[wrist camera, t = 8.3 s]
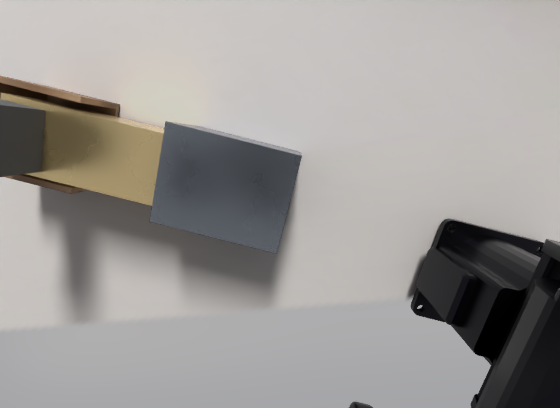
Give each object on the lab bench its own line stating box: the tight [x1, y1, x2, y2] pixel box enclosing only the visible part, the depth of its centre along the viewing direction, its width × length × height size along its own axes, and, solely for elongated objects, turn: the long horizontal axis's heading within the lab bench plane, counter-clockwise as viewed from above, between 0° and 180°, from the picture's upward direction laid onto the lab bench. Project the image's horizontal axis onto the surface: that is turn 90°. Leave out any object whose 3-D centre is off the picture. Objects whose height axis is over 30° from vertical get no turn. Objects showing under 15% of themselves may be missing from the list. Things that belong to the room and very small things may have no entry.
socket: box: [0, 76, 120, 194], centre depth 17 cm, size 5×5×3 cm
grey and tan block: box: [0, 93, 164, 206], centre depth 14 cm, size 9×4×10 cm, turn 76°
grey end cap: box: [150, 122, 302, 253], centre depth 17 cm, size 6×5×5 cm
